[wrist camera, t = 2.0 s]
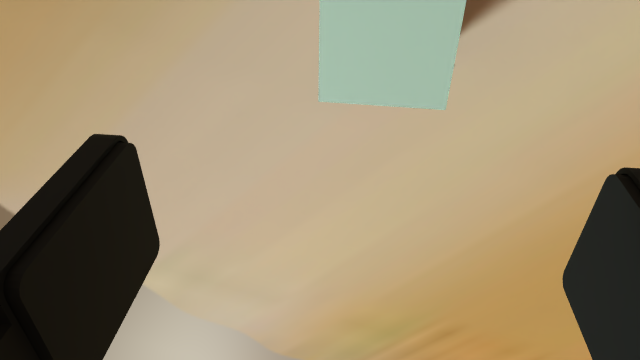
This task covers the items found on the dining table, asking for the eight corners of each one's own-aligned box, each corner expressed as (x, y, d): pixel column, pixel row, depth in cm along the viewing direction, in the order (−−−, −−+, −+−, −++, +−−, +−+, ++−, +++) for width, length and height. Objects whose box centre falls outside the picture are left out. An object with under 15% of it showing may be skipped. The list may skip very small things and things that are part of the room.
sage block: (452, -60, 20) (471, -26, 16) (434, 52, 23) (445, 109, 19) (336, -64, 21) (320, -33, 16) (332, 46, 24) (318, 101, 19)
